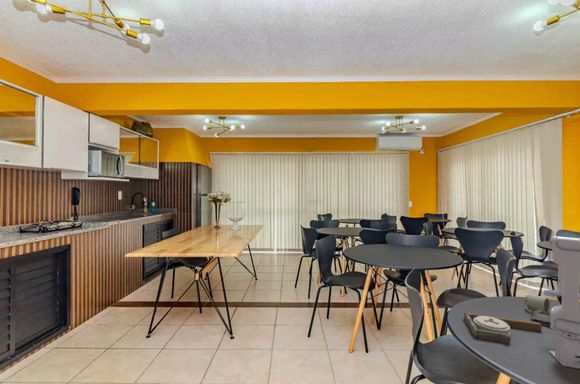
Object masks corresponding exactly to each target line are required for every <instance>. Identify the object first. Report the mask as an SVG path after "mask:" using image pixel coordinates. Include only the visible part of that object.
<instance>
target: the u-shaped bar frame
mask: <svg viewBox="0 0 580 384" xmlns="http://www.w3.org/2000/svg"><path fill="white" fill-rule="evenodd" d="M463 315H464V321H465V322H466V324H467V327H468V328H469V330H470V331H471V333H472V335H473V337H474V338H475V339H481V340H482V339H483V340H487V341H494V342H498V341H499V342H502V343H503V342H504V344H506V343H507V345H509V344H510V343H511V334H510V335H506V334H503V333H500V332H493V331H487V330H480V329H477V327H476V326H475V324H474V320H473V319H474V318H476V317H478V316H488V317H493V318H497V319H500V320H502V321H504V322H505V323H507V324H508V325H509V326H510V328H515V329H521V330H527V331H534V332H540V333H541V332H542V325H541V324H540V323H538V322H533V321H530V320H529V321H528V320H524V319H523V320H521V319H515V318H507V317H500V316H493V315H486V314H480V313H472V312H464V314H463ZM510 345H511V344H510Z"/></svg>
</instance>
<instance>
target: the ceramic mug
mask: <svg viewBox="0 0 580 384" xmlns="http://www.w3.org/2000/svg"><path fill="white" fill-rule="evenodd" d="M524 304H525V305H524V306H525V310H526V312H527V313H529V314H531V313H532V312H531V310H532V311H534V312H535V311H536V312H538V313H539V314H546V315H547V314H549V312H550V308H551V307H550V305H551V304H550V300H549V298H548V297H547V296H546V297H545V296H538V295H536V294H527V295H526V296H525V298H524Z"/></svg>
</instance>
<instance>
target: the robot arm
mask: <svg viewBox="0 0 580 384" xmlns="http://www.w3.org/2000/svg"><path fill="white" fill-rule="evenodd" d="M551 255H552V257H551V258H552V261H553V263H554V264H557V267H558V268H557V270H558V271H557V289H543V295H544V296H546V297H550V296H551V297H556V299H557V301H558V303H559V304H560V305H555V306H553V307H551V309H550V311H551V312H550V316H551V319H550V322H551V324H550V327H549V328H550V330H552V331H554V350H548V351H549V352H548V353H550V355H552V357H554V359H556V360H557V362H558V363H560V364H561V366H563V367H567V368H573V369H580V308H579V305H580V238H578V237H566V236H556V235H554V236H552V237H551Z"/></svg>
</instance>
